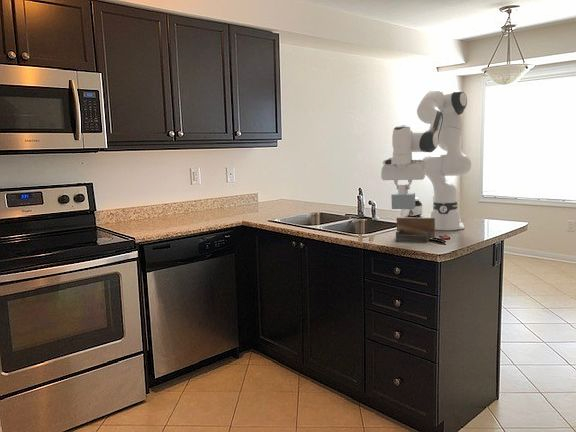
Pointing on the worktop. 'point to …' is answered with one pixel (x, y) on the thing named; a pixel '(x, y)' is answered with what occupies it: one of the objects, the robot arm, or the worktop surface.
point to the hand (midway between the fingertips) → (403, 189)
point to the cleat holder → (415, 229)
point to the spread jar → (413, 210)
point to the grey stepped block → (403, 198)
